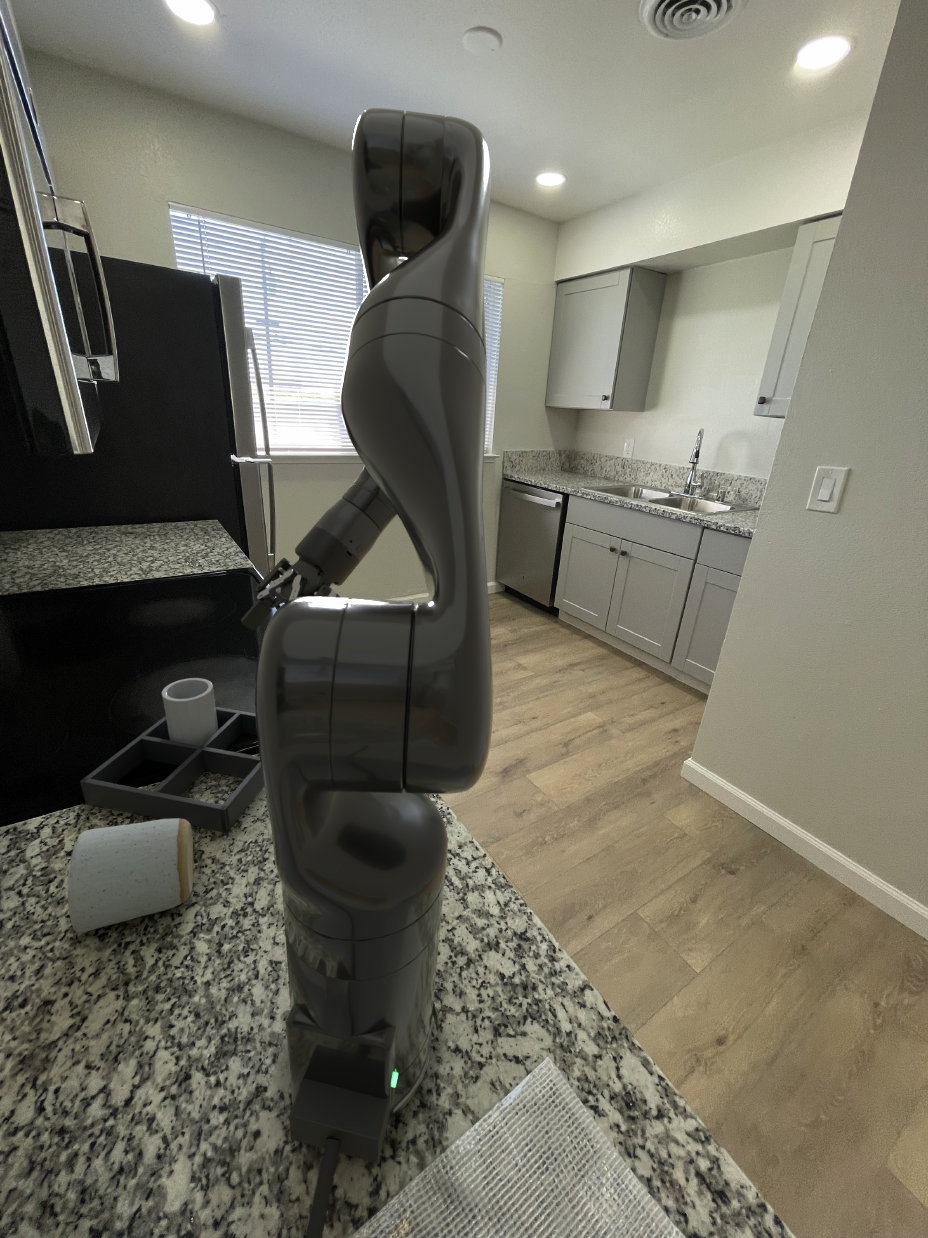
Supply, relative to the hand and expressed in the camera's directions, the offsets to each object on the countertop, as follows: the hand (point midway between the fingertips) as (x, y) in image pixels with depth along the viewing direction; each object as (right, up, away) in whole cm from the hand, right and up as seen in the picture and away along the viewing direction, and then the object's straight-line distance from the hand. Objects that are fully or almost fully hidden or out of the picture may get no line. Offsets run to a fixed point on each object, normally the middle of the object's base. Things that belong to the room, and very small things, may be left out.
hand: (258, 638), depth 65 cm
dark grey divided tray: (-4, -15, -5) cm, 17 cm away
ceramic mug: (-3, -22, -19) cm, 29 cm away
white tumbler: (-8, -13, -1) cm, 15 cm away
